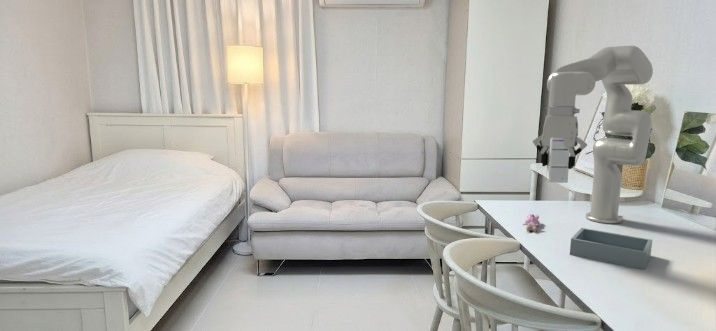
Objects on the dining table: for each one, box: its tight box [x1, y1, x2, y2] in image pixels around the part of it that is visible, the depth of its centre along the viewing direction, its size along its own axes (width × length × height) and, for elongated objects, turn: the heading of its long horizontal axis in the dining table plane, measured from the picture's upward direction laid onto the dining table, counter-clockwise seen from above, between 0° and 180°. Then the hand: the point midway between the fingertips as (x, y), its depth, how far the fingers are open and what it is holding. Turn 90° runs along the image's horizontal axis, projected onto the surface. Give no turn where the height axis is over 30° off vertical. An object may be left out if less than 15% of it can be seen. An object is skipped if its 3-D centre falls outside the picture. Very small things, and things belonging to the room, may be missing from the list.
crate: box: [569, 227, 653, 271], centre depth 143 cm, size 14×20×5 cm
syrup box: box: [545, 137, 570, 184], centre depth 150 cm, size 6×6×14 cm
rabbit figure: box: [522, 213, 542, 233], centre depth 171 cm, size 6×6×15 cm
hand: (557, 166), depth 150 cm, fingers closed on syrup box, 7 cm apart
